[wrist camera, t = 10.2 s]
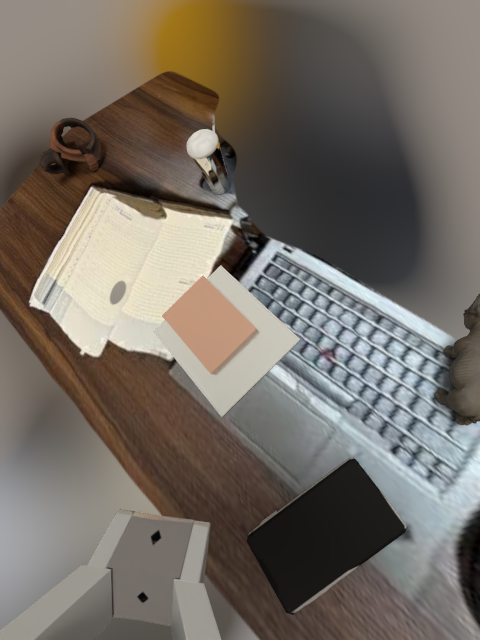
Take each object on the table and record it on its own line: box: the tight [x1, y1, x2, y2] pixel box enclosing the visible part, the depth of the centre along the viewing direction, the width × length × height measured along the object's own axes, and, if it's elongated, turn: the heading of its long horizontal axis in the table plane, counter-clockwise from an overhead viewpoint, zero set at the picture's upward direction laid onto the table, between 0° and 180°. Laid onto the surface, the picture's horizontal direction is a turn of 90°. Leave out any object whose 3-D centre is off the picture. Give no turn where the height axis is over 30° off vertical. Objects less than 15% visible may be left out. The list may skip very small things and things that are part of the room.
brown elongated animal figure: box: [434, 294, 480, 425], centre depth 27 cm, size 4×14×6 cm, turn 162°
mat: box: [154, 266, 300, 417], centre depth 37 cm, size 16×14×1 cm
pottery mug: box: [39, 118, 101, 175], centre depth 53 cm, size 12×10×8 cm
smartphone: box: [247, 457, 407, 615], centre depth 29 cm, size 8×1×15 cm
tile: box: [162, 276, 260, 375], centre depth 37 cm, size 2×8×11 cm
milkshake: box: [187, 114, 230, 195], centre depth 40 cm, size 4×5×10 cm
